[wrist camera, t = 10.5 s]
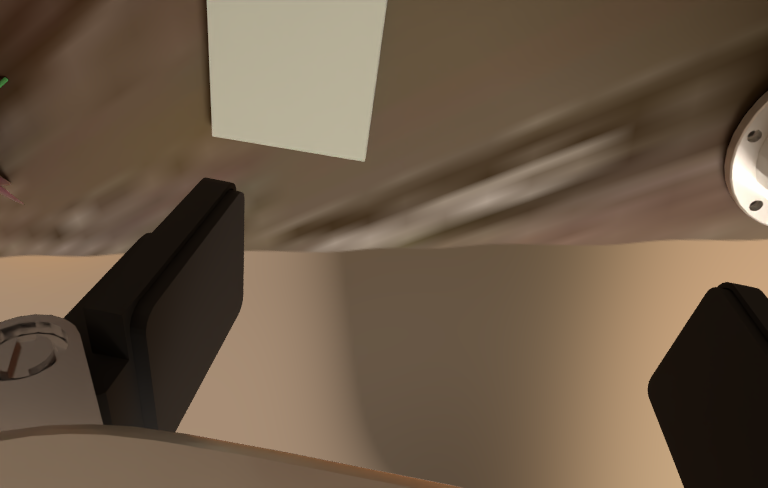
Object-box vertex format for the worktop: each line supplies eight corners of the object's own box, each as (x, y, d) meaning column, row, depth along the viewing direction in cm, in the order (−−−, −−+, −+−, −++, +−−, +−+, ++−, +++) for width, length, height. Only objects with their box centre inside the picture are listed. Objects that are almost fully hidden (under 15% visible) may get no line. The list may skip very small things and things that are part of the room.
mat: (388, -8, 32) (387, -5, 31) (365, 155, 38) (364, 161, 37) (211, -38, 32) (205, -37, 31) (217, 130, 38) (212, 136, 37)
